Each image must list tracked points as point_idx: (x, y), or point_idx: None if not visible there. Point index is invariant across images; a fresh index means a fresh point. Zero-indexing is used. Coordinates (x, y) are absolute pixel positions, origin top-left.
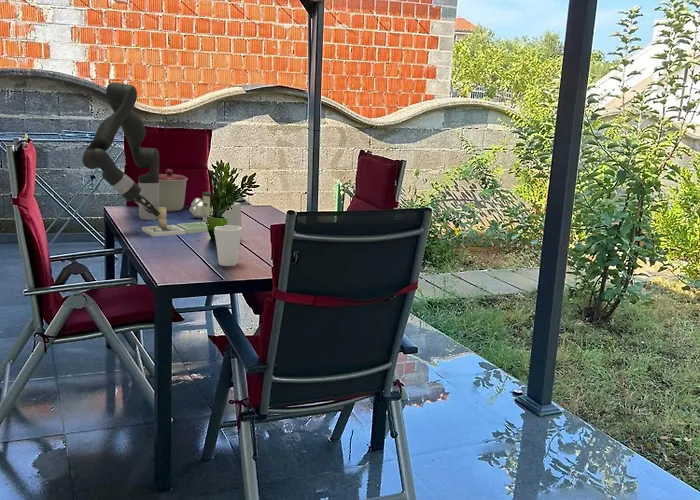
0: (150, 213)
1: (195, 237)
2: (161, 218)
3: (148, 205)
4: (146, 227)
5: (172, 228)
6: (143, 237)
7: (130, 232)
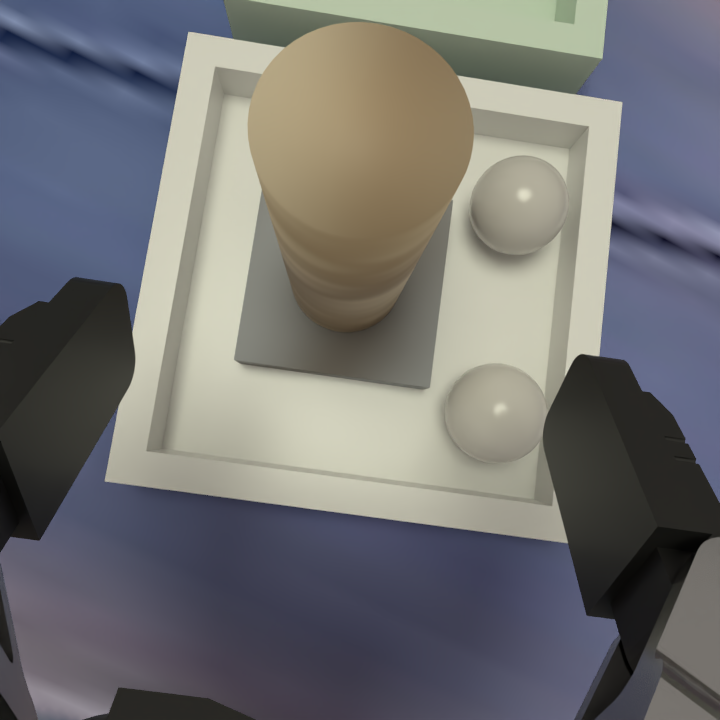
0: (132, 364)
1: (685, 80)
2: (409, 271)
3: (25, 398)
4: (152, 426)
5: (554, 226)
6: (410, 580)
7: (33, 588)
